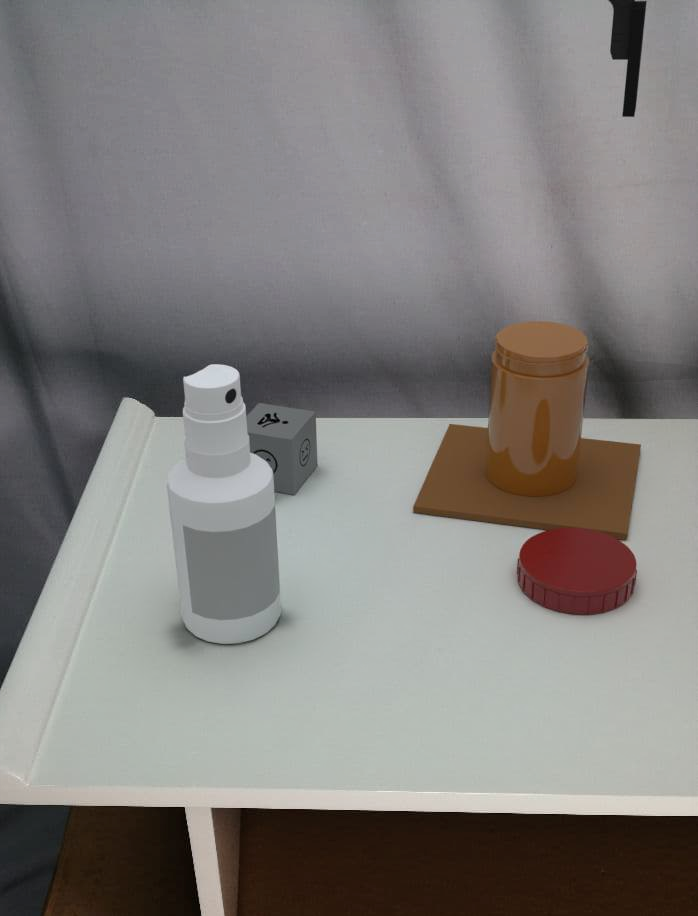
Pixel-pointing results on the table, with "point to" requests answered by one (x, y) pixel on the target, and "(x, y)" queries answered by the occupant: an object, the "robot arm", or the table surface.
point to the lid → (576, 570)
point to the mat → (581, 506)
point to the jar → (536, 408)
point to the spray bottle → (223, 516)
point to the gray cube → (284, 443)
